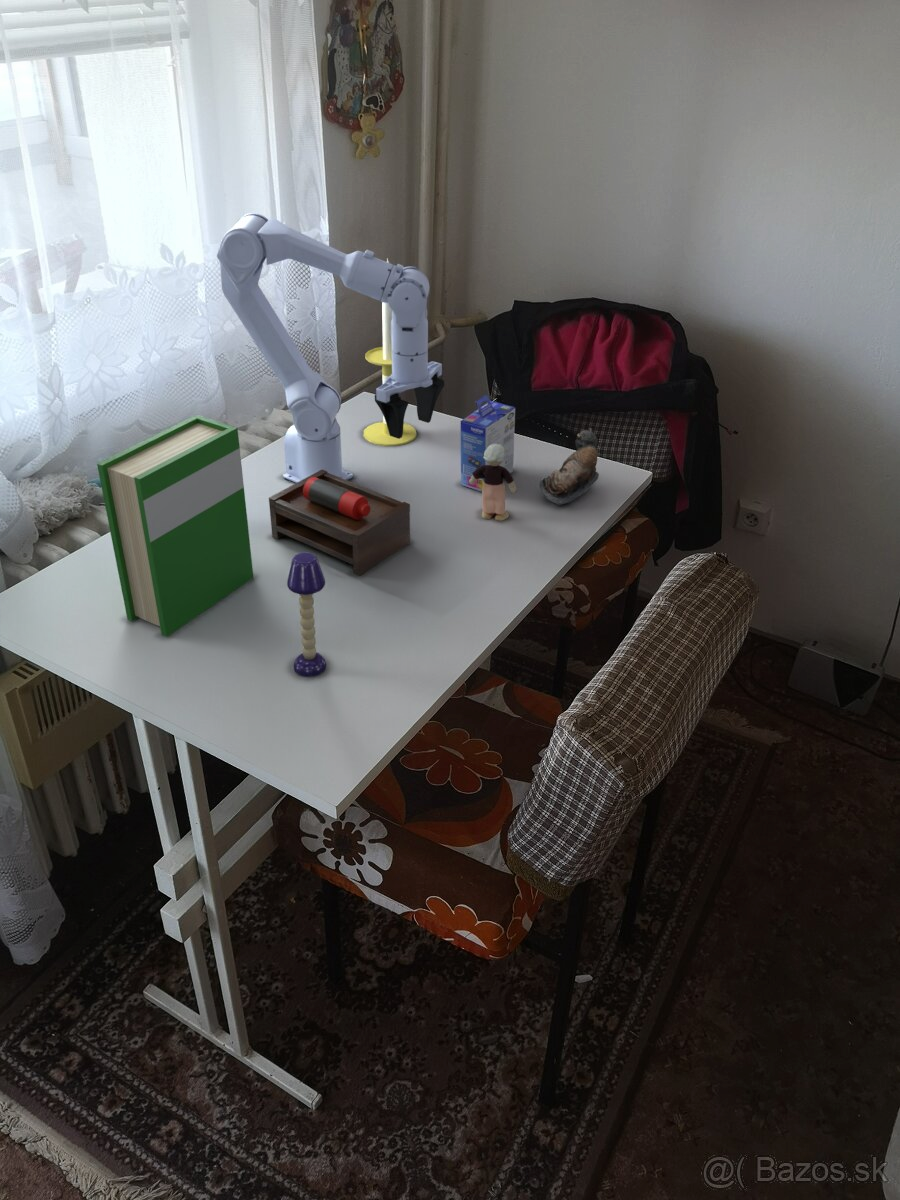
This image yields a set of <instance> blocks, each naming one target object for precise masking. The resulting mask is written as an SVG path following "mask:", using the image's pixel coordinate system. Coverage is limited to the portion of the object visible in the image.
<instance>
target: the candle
mask: <svg viewBox="0 0 900 1200" xmlns="http://www.w3.org/2000/svg"><path fill="white" fill-rule="evenodd" d="M386 262H388V263H390V261H389V258H388V257H387V258H386ZM381 303H382V304H381V312H382V313H381V315H382V319H381V320H382V321H381V322H382V346H379V347H374V348H372V349H370V350H367V352H366V353H365V355H364V357H365V360H366V361H367V362H368V363H370V364H372V365H374V366H381V369H382V370H381V371H382V373H381V375H382V384H383V383H384V382H385V381H386V380H387V379H388V378H389V377H390V375H391V374H392V336H391V321H392V310H391V308H390V306H389V304H388V303H384V302H381ZM363 438H364V439H365V440H366V441H367V442H369V443H371V444H373V445H375V446H381V447H397V446H404V445H407V444H408V443H411V442H413V441H414V440H415V439H416V438H417V429H416V428H414V427H413V426H412V425H410V424H408V423H405V422H404V425H403V435H402V438H400V439H398V438H395V437H392V436H390V434H389V430H388V427H387V424H386V421H385V418H384V416H383V415H382V421H380V422H375V423H372V424H370V425H368V426H367V427H366V428H365V429H364V430H363Z"/></svg>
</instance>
